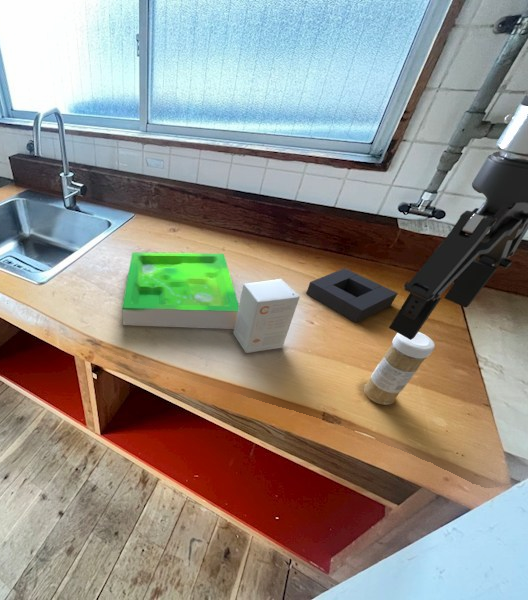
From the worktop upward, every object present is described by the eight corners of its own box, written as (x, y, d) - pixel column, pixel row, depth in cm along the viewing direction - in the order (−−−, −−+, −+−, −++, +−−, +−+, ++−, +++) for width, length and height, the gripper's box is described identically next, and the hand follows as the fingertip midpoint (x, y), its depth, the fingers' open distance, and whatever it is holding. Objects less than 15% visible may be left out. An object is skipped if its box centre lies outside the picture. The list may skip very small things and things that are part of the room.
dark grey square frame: (391, 305, 75) (398, 293, 73) (355, 323, 70) (362, 310, 68) (339, 279, 84) (344, 267, 82) (305, 293, 80) (310, 281, 77)
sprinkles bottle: (382, 383, 57) (420, 327, 49) (400, 405, 54) (444, 348, 45) (356, 385, 57) (390, 329, 49) (373, 407, 54) (412, 350, 45)
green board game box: (221, 269, 90) (223, 253, 87) (236, 329, 70) (240, 311, 67) (132, 267, 92) (132, 252, 90) (123, 325, 73) (122, 307, 70)
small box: (267, 327, 70) (282, 277, 62) (283, 348, 65) (301, 296, 57) (232, 333, 69) (242, 282, 61) (245, 354, 64) (258, 302, 56)
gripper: (545, 134, 39) (447, 279, 52) (429, 166, 31) (346, 330, 44) (643, 145, 34) (507, 303, 47) (537, 188, 25) (406, 367, 38)
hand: (429, 316), depth 45 cm, fingers open, 13 cm apart
